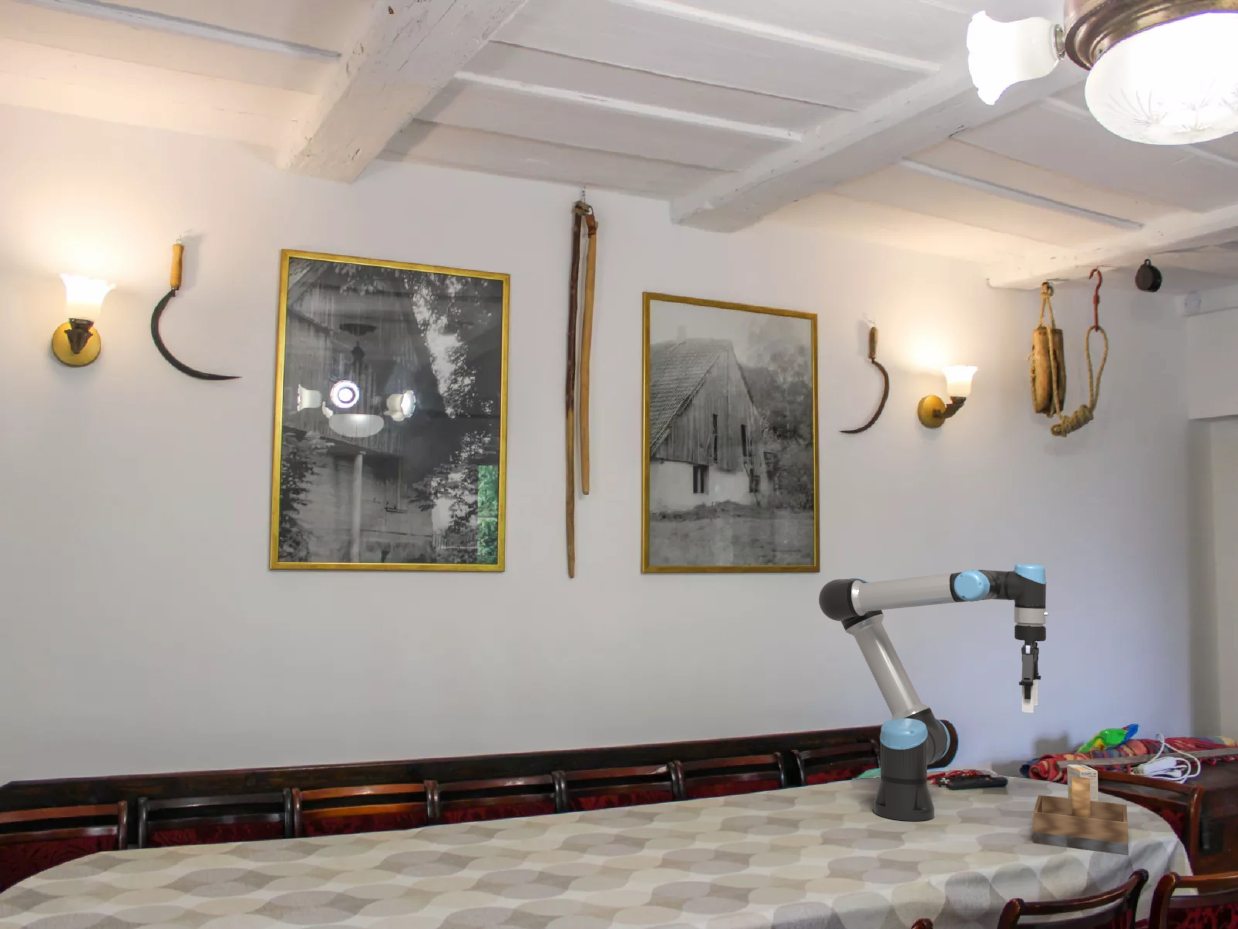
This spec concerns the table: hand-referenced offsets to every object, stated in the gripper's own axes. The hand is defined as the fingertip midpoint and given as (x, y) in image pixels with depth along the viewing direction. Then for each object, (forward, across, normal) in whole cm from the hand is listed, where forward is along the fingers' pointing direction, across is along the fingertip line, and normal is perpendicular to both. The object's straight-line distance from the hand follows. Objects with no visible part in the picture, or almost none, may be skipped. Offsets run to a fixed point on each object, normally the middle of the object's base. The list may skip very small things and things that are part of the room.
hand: (1030, 708), depth 265 cm
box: (+28, -10, -12) cm, 32 cm away
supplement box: (+28, +10, -12) cm, 33 cm away
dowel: (+28, -10, -12) cm, 32 cm away
